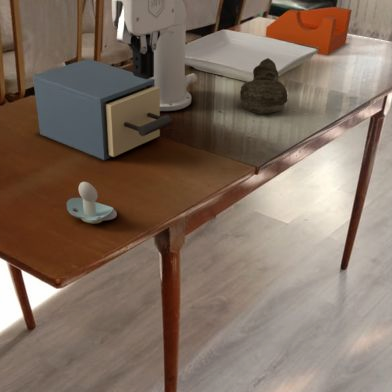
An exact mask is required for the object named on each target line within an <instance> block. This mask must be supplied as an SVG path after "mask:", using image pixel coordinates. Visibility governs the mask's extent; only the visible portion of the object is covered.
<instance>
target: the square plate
mask: <svg viewBox="0 0 392 392" xmlns="http://www.w3.org/2000/svg"><path fill="white" fill-rule="evenodd" d="M317 53H318V49H317V48H316V47H311V46H307V45H303V44H298V43H294V42H289V41H284V40H277V39H273V38H269V37H266V36H264V35H259V34H254V33H247V32H242V31H236V30H230V29H221V30H218V31H215V32H213V33H210V34H207V35H205V36H202V37H200V38H197V39H195V40H193V41H190V42H188V43H185V66H188V67H192V68H194V69H195V70H198V71H202V72H205V73H210V74H213V75H218V76H223V77H226V78H230V79H235V80H238V81H243V82H250V81H253V79H254V78H253V77H254V74H253V70H254V68H255V67H256V66H258V65H260V63H261V62H262V61H263V60H265V59H267V58H269V59H270V60H272V61H273V62H274V63H275V66H276V69H277V71H278V76H279V77H280V76H282V75H283V74H285V73H287V72H289V71H290V70H292V69H294V68H296V67H298V66H300V65H303V64H304V63H305V62H308V61H309V60H310V59H312V58H313V57H314V56H315V55H316V54H317Z"/></svg>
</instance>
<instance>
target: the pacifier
mask: <svg viewBox="0 0 392 392" xmlns="http://www.w3.org/2000/svg"><path fill="white" fill-rule="evenodd" d="M78 193H79V195H80V197H71V198H70V199H68V200H67V201H66V209H67V211H68V213H69V214H70V215H71V216H72V217H74V218H77V219H81V221H83V222H85V223H88V224H99V223H102V222H105V221H111V220H114V219H115V218H116V217H117V215H118V214H117V211H116V210H115V209H114V207H113V206H110V205H106V204H103V203H100V202H97V200H98V191H97V189H96V188H95V186H93V185H92V184H91V183H90V182H88V181H82V182H80V183H79V185H78ZM74 210H75V211H74Z"/></svg>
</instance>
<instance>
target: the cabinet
mask: <svg viewBox="0 0 392 392" xmlns="http://www.w3.org/2000/svg"><path fill="white" fill-rule="evenodd" d="M32 83H33V89H34V96H35V104H36V111H37V120H38V128H39V134H40V135H41V136H43V137H46V138H47V139H48V138H49V139H51V140H54V141H56V142H58V143H61V144H64V145H66V146H68V147H71V148H73V149H75V150H78V151H81V152H82V153H86V154H88V155H91V156H93V157H96V158H98V159H101V160H102V161H106V160H108V159H110V158H113V157H112V156H110V155H109V150H108V149H107V144H106V127H105V110H104V102H107V101H109V100H112V99H115V98H117V97H120V96H123V95H126V94H128V93H131V92H134V91H136V90H139V89H142V88H144V87H146V89H148V88H151V87H154V86H155V84H154V83H155V80H154V79H152V78H149V79H143V78H140V77H137V76H134V75H133V71H129V70H126V69H123V68H120V67H116V66H113V65H110V64H107V63H104V62H100V61H97V60H93V59H91V58H86V59H82V60H78V61H75V62H72V63H70V64H66V65H62V66H59V67H56V68H53V69H50V70H47V71H43V72H40V73H37V74H33V75H32Z"/></svg>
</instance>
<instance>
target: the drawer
mask: <svg viewBox="0 0 392 392" xmlns="http://www.w3.org/2000/svg"><path fill="white" fill-rule="evenodd" d="M104 110H105V127H106V144H107V149H108V150H109V155H110V156H112V157H111V158H115V157H117V156H120V155H121V154H124V153H125V152H128V151H130V150H132V149H135V148H137V147H139V146H141V145H143V144H145V143H148V142H150V141H152V140H154V139H156V138H159V137H160V136H161V129H163V128H165V127H167V126H169V125H172V117H171V116H170V115H168V114H167V115H166V114H165V115H164V116H161V111H160V88H159V87H156V86H154V87H151V88H148V89H146V87H144V88H142V89H139V90H136V91H134V92H131V93H128V94H126V95H123V96H120V97H117V98H115V99H112V100H109V101H107V102H104Z"/></svg>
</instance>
